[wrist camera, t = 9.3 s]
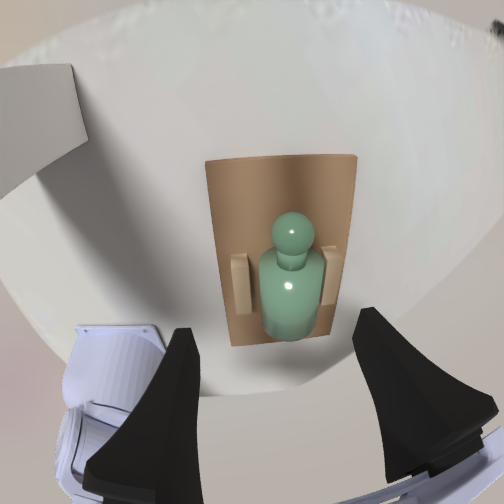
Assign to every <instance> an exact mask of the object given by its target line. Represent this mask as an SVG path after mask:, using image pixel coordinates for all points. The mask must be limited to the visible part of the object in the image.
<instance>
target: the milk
mask: <svg viewBox="0 0 504 504" xmlns="http://www.w3.org/2000/svg"><path fill="white" fill-rule="evenodd" d="M87 141H88V137H87V133H86V129H85V126H84V122H83V118H82V114H81V110H80V106H79V102H78V97H77V93H76V88H75V83H74V78H73V73H72V68H71V64H70V63H51V64H33V65H22V66H12V67H4V68H0V200H1V199H2V198H3V197H5V196H6V195H7V194H8V193H10V192H11V191H12V190H14V189H15V188H16V187H18V186H19V185H20V184H22V183H23V182H24V181H26V180H27V179H28V178H30V177H31V176H33V175H34V174H35V173H37V172H38V171H40V170H41V169H43V168H44V167H46V166H47V165H49V164H50V163H52V162H53V161H55V160H57V159H58V158H60V157H61V156H63V155H65V154H66V153H68V152H70V151H71V150H73V149H75V148H76V147H78V146H80V145H82V144H83V143H85V142H87Z"/></svg>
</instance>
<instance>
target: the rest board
mask: <svg viewBox="0 0 504 504" xmlns="http://www.w3.org/2000/svg"><path fill="white" fill-rule="evenodd" d="M356 168H357V156H355V155H342V154H320V155H282V156H263V157H247V158H235V159H223V160H213V161H206V162H205V169H206V177H207V185H208V194H209V201H210V209H211V217H212V224H213V231H214V239H215V246H216V253H217V260H218V266H219V273H220V279H221V286H222V292H223V298H224V305H225V311H226V317H227V323H228V329H229V335H230V340H231V346H243V345H254V344H264V343H273V342H282V341H280V340H277V339H275V338H272V337H271V336H269V335H268V334H267V333H266V332H265V331H264V329H263V327H262V324H261V306H260V281H259V259H260V257H261V255H262V254H263V253H264V252H265V251H267V250H268V249H270V248H272V247H274V245H273V243H272V241H271V236H270V232H271V227H272V224H273V223H274V221H275V220H276V218H277V217H279V216H280V215H282V214H283V213H286V212H299V213H302V214H304V215H305V216H306V217H308V218H309V219H310V221H311V222H312V224H313V226H314V230H315V238H314V242H313V244H312V246H311V247H310V248H311V249H313V250H315V251H316V252H317V253H319V254H320V256H321V257H322V258H323V261H324V271H323V278H322V285H321V292H320V299H319V306H318V312H317V318H316V324H315V327H314V330H313V331H312V332H311V333H310V334H309V335H308V336H307V337H305V338H312V337H319V336H325V335H330V331H331V327H332V322H333V318H334V313H335V308H336V304H337V299H338V294H339V289H340V283H341V278H342V272H343V267H344V261H345V255H346V249H347V242H348V236H349V229H350V222H351V214H352V206H353V198H354V188H355V179H356ZM305 338H303V339H305Z"/></svg>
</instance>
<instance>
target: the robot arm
mask: <svg viewBox="0 0 504 504" xmlns="http://www.w3.org/2000/svg"><path fill="white" fill-rule="evenodd" d="M75 331H76V332H77V334H78V336H77V339H76V341H75V344H74V347H73V349H72V352H71V355H70V358H69V361H68V364H67V366H66V370H65V373H64V376H63V381H62V392H63V398H64V401H65V403H66V405H67V407H68V408H69V409H68V410H67V411H66V413H65V415H64V418H63V420H62V423H61V427H60V430H59V434H58V439H57V444H56V453H55V463H54V475H55V477H56V481H57V483H58V485H59V486H60V487H61V489H62V490H63V491H64V492H65V493H66V494H67V495H68V496H69V497H70V498H71V499H72V500H73V503H72V504H204V503H203V496H202V489H201V481H200V473H199V462H198V449H197V414H198V401H199V389H200V355H199V352H198V349H197V346H196V343H195V340H194V337H193V333H192V330H191V328H176V329H175V330H174V333H173V336H172V338H171V340H170V343H169V345H168V347H167V350H165V348H164V345H163V343H162V341H161V339H160V337H159V334H158V332H157V330H156V328H155V327H154V326H152V325H138V326H76V328H75ZM352 340H353V344H354V348H355V352H356V356H357V359H358V362H359V364H360V367H361V370H362V372H363V375H364V377H365V379H366V382H367V385H368V387H369V390H370V392H371V395H372V398H373V401H374V404H375V407H376V412H377V416H378V420H379V425H380V431H381V436H382V442H383V450H384V459H385V476H386V480H387V483H388V484H389V483H392V482H394V481H397V480H399V479H402V478H404V477H407V476H409V475H412V478H410V479H408V480H405V481H403V482H400V483H397V484H395V485H392V486H390V487H387V488H385V489H381V490H379V491H376V492H373V493H370V494H367V495H363V496H360V497H357V498H353V499H350V500H346V501H343V502H339V503H335V504H379V503H382V502H385V501H387V500H390V499H393V498H395V497H398V496H400V495H401V496H400V499H399V500H398V501H395V502H392V503H389V504H468V503H469V502H471V501H472V500H473V499H474V498H476V497H477V496H478V495H479V494H480V493H481V492H483V491H484V490H485V489H486V488H487V487H488V486H490V485H491V484H492V483H493V482H494V481H495V480H496V479H498V478H499V477H500V476H501V475H502V474H503V473H504V431H503V429H502V427H501V426H500V427H498V428H497V429H495V430H494V431H493V432H491V433H490V434H488V435H487V436H485V437H484V438H482V439H481V436H480V435H481V434H482V433H483V431H482V428H481V427H482V426H483V425H485V424H486V423H487V422H488V421H490V420H491V419H492V418H493V417H495V416H496V415H497V414H498V412H499V410H498V408H497V406H496V403H495V402H494V399H493V397H492V396H490V395H488V394H485V393H483V392H480V391H478V390H476V389H474V388H472V387H470V386H468V385H466V384H464V383H462V382H461V381H459V380H457V379H456V378H454V377H452V376H451V375H449V374H448V373H446V372H445V371H443V370H442V369H440V368H439V367H438V366H436V365H435V364H434V363H432V362H431V361H430V360H428V359H427V358H426V357H425V356H424V355H423V354H421V353H420V352H419V351H418V350H417V349H416V348H415V347H414V346H412V345H411V344H410V343H409V342H408V341H407V340H406V339H405V338H404V337H403V336H402V335H401V334H400V333H399V332H398V331H397V330H396V329H395V328H394V327H393V326H392V325H391V324H390V323H389V322H388V321H387V320H386V319H385V318H384V317H383V316H382V315H381V314H380V313H379V312H378V311H377V310H376V309H375V308H374V307H369V308H363V309H361V311H360V315H359V318H358V321H357V324H356V328H355V331H354V334H353V337H352Z"/></svg>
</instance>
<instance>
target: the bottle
mask: <svg viewBox="0 0 504 504" xmlns="http://www.w3.org/2000/svg"><path fill="white" fill-rule="evenodd" d="M270 236H271V241H272V243H273V245H274V247H272V248H270V249H268V250H267V251H265V252H264V253H263V254H262V255H261V257H260V259H259V281H260V306H261V324H262V327H263V329H264V331H265V332H266V333H267V334H268V335H269V336H271V337H272V338H275V339H277V340H280V341H287V342H291V341H297V340H301V339H303V338H305V337H307V336H308V335H309V334H310V333H311V332H312V331H313V330H314V327H315V324H316V318H317V312H318V306H319V299H320V292H321V285H322V278H323V271H324V261H323V258H322V257H321V256H320V254H319V253H317V252H316V251H315V250H313V249H311V248H310V247H311V246H312V244H313V242H314V238H315V230H314V226H313V224H312V222H311V221H310V219H309V218H308V217H306V216H305V215H304V214H302V213H299V212H286V213H283V214H282V215H280V216H279V217H277V218H276V220H275V221H274V223H273V224H272V227H271V232H270Z"/></svg>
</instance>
